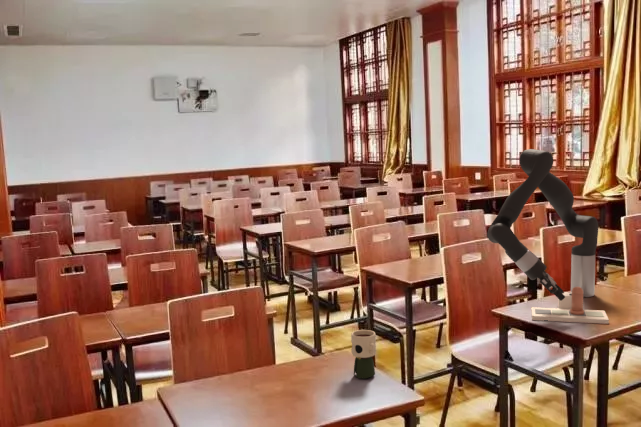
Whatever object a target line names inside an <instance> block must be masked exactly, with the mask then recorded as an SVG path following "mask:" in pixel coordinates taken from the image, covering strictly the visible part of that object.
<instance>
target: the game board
mask: <svg viewBox="0 0 641 427" xmlns="http://www.w3.org/2000/svg"><path fill="white" fill-rule="evenodd" d="M530 310H531V320H532V321H544V320H548V322H565V323H566V322H568V323H585V324H588V323H589V324H605V325H608V324H609V322H610V321H609V320H610V319H609V317H608V315H607V313H606V311H605V310H602V309H601V310H597V309H583V310H584V314H583V315H574V314H571V313H570V309H559V308H558V307H556V308H555V307H538V306H537V307H536V306H533V307H531V309H530Z"/></svg>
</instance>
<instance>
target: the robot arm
mask: <svg viewBox="0 0 641 427" xmlns="http://www.w3.org/2000/svg"><path fill="white" fill-rule="evenodd" d="M553 164H554V157H553V155H552V153H551V152H550V151H548V150H541V149H533V148H529V149H525V150H523V151H522V152H521V153H520V155H519V165H520V168H521V169H522V171H523V172H524V173H525V174H526V175H527V178H526V179H525V180H524V181H523V183H521V184H520V185H519V186H518V187H516V188H515V189H514V190H513V191H512V192H511V193H509V195H508V196H507V197H506V199H505V201H504V203H503V204H502V205H501V207H500V210H499V212H498V214H497V215H496V216H495V218H494V220H493V221H492V223H491V224H490V226H489V228H488V230H487V235H486V236H487V238H488V240H489V241H490V242H491V243H493V244H499V246H501V247H502V248H503V250H504V252H505V254H506V256H507V257H508V258H510V260H512V262H513V263H515V265H516V266H517V267H518V268H519V269H520V270H521V271H522V273H523V274H524V275H526V277H528V278H529V280H531V281H534V280H537V279H538V280H539V283H540V284H541V285H542V286H544V287H545V289H546V290H548V292H549V293H550V294H552V295H554V296H555V297H556V299H557V300H558V299H559V300H563V299H564V298H565V296H564V295H563V294H562V293H563V292H564V289H562V288H561V287H560V286H559V285H558V283H557V282H556V281H555V279H554V278H553V277H552V276H551V275H550V274H549V273H547V272H546V270H547V265H546V264H545V263H544V262H543V261H542V260H541V259H540V258H539V257H538V256H537V255H536V254H535V253H534V252H532V251H531V250H529V248H527V247H526V246H525V244H524V243H522V242H521V241H520V239H519V238H518V237H517V236H516V235H515V233H514V232H513V230H512V229H511V227H512V225H514V223H515V222H516V221H517V220H518V218H519V216H520V215H521V213H522V211H523V209H524V208H525V205H526V204H527V202H528V200H529V199H530V198H531V196H532V195H533V194H534V192H535V191H536V189H537V188H538V189H539V190H540V193H542V194H543V196H544V197H545V198H546V200H547V201H548V203H549V205H551V206H552V208H553V209H554V211H555V212H556V213H557V215H558V217H559V218H560V219H561V222H562V224H564V227H565V229H566V230H567V232H568V234H570V235H571V236H572V237H575V238H580V239H582V241H581V243H580V244H577V245H573V246H572V247H571V256H570V257H571V260H570V261H571V264H570V267H571V268H570V270H571V272H570V292H572V289H573V288H574V287H581V288H582V289H583V298H590V297H591V298H592V297H593V296H595V291H596V290H595V287H596V286H595V285H596V284H595V283H596V282H595V281H596V251H597V248H598V238H599V237H598V236H599V222H598V219H597V218H596V217H595V216H591V215H590V216H589V215H580V214H578V213H576V211H575V210H574V209H573V206H574V202H575V201H574V200H575V197H574V194H573V192H572V191H571V190H570V188H569V186H568V185H567V183H566V182H564V181H563V180H561V178H559V177H557V176H556V175H555V174H554V173H551V172H550V171H551V169H552V167H553Z"/></svg>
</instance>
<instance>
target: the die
mask: <svg viewBox="0 0 641 427" xmlns="http://www.w3.org/2000/svg"><path fill="white" fill-rule="evenodd" d="M562 294H563V295H564V296H565V298H564V299H563V300H559V299H558V298H557V308H559V309H571V302H572V292H571V291H570V292H568V291H563V293H562Z"/></svg>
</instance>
